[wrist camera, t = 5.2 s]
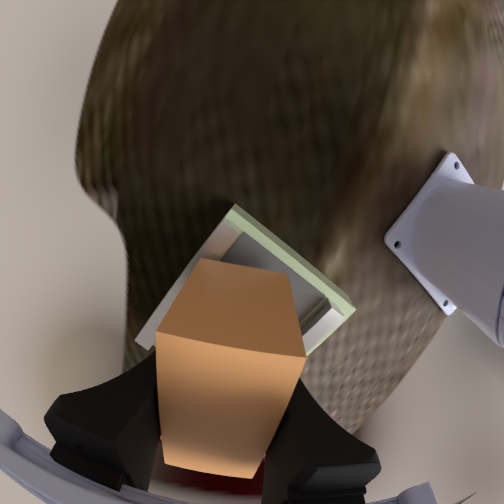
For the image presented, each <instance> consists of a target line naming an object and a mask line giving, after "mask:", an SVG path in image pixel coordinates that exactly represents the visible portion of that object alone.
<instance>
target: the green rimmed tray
mask: <svg viewBox="0 0 504 504" xmlns="http://www.w3.org/2000/svg"><path fill="white" fill-rule="evenodd" d="M200 258H204V259H209V260H215V261H220V262H225V263H231V264H236V265H242V266H247V267H253V268H258V269H264V270H269V271H275V272H281V273H286V274H288V278H289V282H290V287H291V291H292V295H293V299H294V303H295V308H296V312H297V316H298V321H299V325H300V330H301V334H302V338H303V343H304V348H305V352H306V356H307V355H309V354H310V353H311V352H312V351H313V350H314V349H315V348H316V347H318V346H319V345H320V344H321V343H322V342H323V341H324V340H325V339H326V338H327V337H329V336H330V335H331V334H332V333H333V332H334V331H335V330H336V329H337V328H338V327H339V326H340V325H341V324H342V323H343V322H344V321H345V320H346V319H347V318H348V317H349V316H350V315H351V314H352V313H353V312H354V311H355V310H356V308H355V307H354V305H353V303H352V302H351V300H350V298H349V297H348V295H347V294H346V293H345V292H344V291H342V290H341V289H340V288H339V287H338V286H336V285H335V284H334V283H333V282H332V281H330V280H329V279H328V278H327V277H326V276H325V275H323V274H322V273H321V272H320V271H318V270H317V269H316V268H315V267H314V266H312V265H311V264H310V263H309V262H308V261H306V260H305V259H304V258H303V257H302V256H300V255H299V254H298V253H297V252H295V251H294V250H293V249H292V248H290V247H289V246H288V245H287V244H286V243H284V242H283V241H282V240H281V239H279V238H278V237H277V236H276V235H274V234H273V233H272V232H271V231H269V230H268V229H267V228H266V227H264V226H263V225H262V224H261V223H259V222H258V221H257V220H256V219H254V218H253V217H252V216H251V215H249V214H248V213H247V212H245V211H244V210H243V209H242V208H240V207H239V206H238V205H237V204H234V205H233V207H232V208H231V209H230V211H229V212H228V213H227V214H226V216H225V217H224V218H223V219H222V221H221V222H220V223H219V225H218V226H217V227H216V228H215V230H214V231H213V232H212V234H211V235H210V236H209V238H208V239H207V240H206V241H205V243H204V244H203V245H202V247H201V248H200V249H199V251H198V252H197V253H196V255H195V256H194V257H193V259H192V260H191V261H190V263H189V264H188V265H187V267H186V268H185V269H184V271H183V272H182V273H181V275H180V276H179V277H178V279H177V280H176V282H175V283H174V284H173V286H172V287H171V288H170V290H169V291H168V293H167V294H166V295H165V297H164V298H163V300H162V301H161V302H160V304H159V305H158V307H157V308H156V309H155V311H154V312H153V314H152V315H151V317H150V318H149V319H148V321H147V322H146V324H145V325H144V327H143V328H142V330H141V331H140V333H139V334H138V336H137V338H136V339H135V341H136V342H137V343H138V344H140V345H141V346H143V347H144V348H145V349H147V350H149V349H150V347H151V346H152V345H154V346H155V347H156V330H157V328H158V327H159V325H160V323H161V322H162V320H163V318H164V316H165V315H166V313H167V311H168V310H169V308H170V307H171V305H172V303H173V302H174V300H175V298H176V297H177V295H178V293H179V292H180V290H181V289H182V287H183V285H184V284H185V282H186V280H187V279H188V277H189V276H190V274H191V272H192V271H193V269H194V268H195V266H196V265H197V263H198V261H199V260H200Z"/></svg>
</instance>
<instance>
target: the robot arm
mask: <svg viewBox="0 0 504 504" xmlns="http://www.w3.org/2000/svg"><path fill="white" fill-rule="evenodd" d="M454 163H455V164H456V168H455V167H454ZM397 241H398V242H399V244H398V246H397V247H394V244H395V242H397ZM384 242H385V244H386V245H387V246H388V247H389V248H390V250H391V251H392V252H393V253H394V254H395V255H396V256H397V257H398V258H399V259H400V260H401V262H402V263H403V264H404V265H405V266H406V267H407V268H408V269H409V271H410V272H411V273H412V274H413V275H414V276H415V277H416V279H417V280H418V281H419V282H420V283H421V284H422V286H423V287H424V288H425V289H426V290H427V292H428V293H429V294H430V295H431V297H432V298H433V299H434V300H435V302H436V303H437V304H438V305H439V307H440V308H441V309H442V310H443V312H444V313H445V314H446V315H450V314H451V313H453V311H454V310H455V309H456V308H457V307H458V308H459V309H460V310H461V311H462V312H463V313H464V314H465V315H467V317H469V318H470V319H471V320H472V321H473V322H474V323H475V324H476V325H477V326H478V327H479V328H480V329H481V330H482V331H483V332H484V333H485V334H486V335H487V336H489V337H490V338H491V339H492V340H493V341H494V342H495V343H496V344H497V345H499V346H500V347H503V348H504V190H500V189H495V188H491V187H486V186H481V185H476V184H474V182H473V181H472V179H471V178H470V176H469V174H468V173H467V171H466V170H465V168H464V167H463V165H462V163H461V162H460V160H459V159H458V158H457V156H456V155H455V154H454V153H452V152H449V153H447V154H446V155H445V156H444V158H443V159H442V161H441V162H440V164H439V165H438V166H437V168H436V169H435V171H434V172H433V173H432V175H431V176H430V178H429V179H428V180H427V182H426V183H425V184H424V186H423V187H422V188H421V190H420V191H419V192H418V194H417V195H416V196H415V198H414V199H413V200H412V202H411V203H410V204H409V206H408V207H407V208H406V209H405V211H404V212H403V213H402V214H401V216H400V217H399V218H398V219H397V221H396V222H395V223H394V224H393V226H392V227H391V228H390V229H389V230H388V232H387V233H386V234H385V236H384ZM444 301H445V303H444ZM443 303H444V304H443ZM44 421H45V424H46V426H47V428H48V429H49V431H50V433H51V434H52V436H53V437H54V439H55V441H56V443H55V445H54V447H53V449H52V450H50V449H49V448H47V447H45V446H44V445H42V444H40V443H39V442H37V441H36V440H34V439H33V438H31V437H30V436H28V435H27V434H25V433H24V432H23V431H22V429H21V427H20V426H19V425H18V423H17V422H16V421H15V420H14V419H12V418H11V417H10V416H8V415H7V414H5V413H4V412H3V411H2V410H1V409H0V469H1V470H2V471H3V472H4V473H6V474H7V475H8V476H9V477H11V478H12V479H13V480H14V481H16V482H17V483H18V484H19V485H21V486H22V487H24V488H25V489H26V490H28V491H29V492H31V493H32V494H33V495H35V496H36V497H38V498H39V499H41V500H42V501H44V502H46V503H47V504H194V503H189V502H184V501H179V500H175V499H171V498H167V497H163V496H159V495H156V494H152V493H149V492H148V487H149V482H150V477H151V472H152V468H153V463H154V459H155V455H156V451H157V447H158V443H159V439H160V436H161V427H160V416H159V404H158V389H157V367H156V350H155V351H154V352H153V353H152V354H150V355H149V356H148V357H147V358H145V359H144V360H143V361H141V362H140V363H139V364H137V365H136V366H134V367H133V368H131V369H130V370H128V371H126V372H125V373H123V374H121V375H119V376H118V377H116V378H114V379H111V380H109V381H107V382H105V383H103V384H100V385H98V386H95V387H92V388H89V389H85V390H82V391H78V392H73V393H68V394H63V395H60V396H59V397H58V398H57V399H56V400H55V401H54V403H53V404H52V406H51V407H50V409H49V410H48V411H47V413H46V414H45V416H44ZM380 471H381V465H380V461H379V458H378V455H377V453H376V450H375V449H374V448H372V447H370V446H368V445H367V444H365V443H363V442H361V441H360V440H358V439H357V438H355V437H354V436H352V435H351V434H350V433H348V432H347V431H346V430H344V429H343V428H342V427H341V426H340V425H338V424H337V423H336V422H335V421H334V420H333V419H332V418H331V417H330V416H329V415H328V414H327V413H326V412H325V411H324V410H323V409H322V408H321V407H320V406H319V405H318V403H317V402H316V401H315V400H314V398H313V397H312V395H311V394H310V393H309V391H308V390H307V388H306V387H305V385H304V384H303V382H302V381H301V379H300V377H299V379H298V381H297V384H296V386H295V389H294V391H293V394H292V396H291V398H290V401H289V403H288V405H287V408H286V410H285V412H284V414H283V417H282V419H281V421H280V423H279V425H278V428H277V430H276V432H275V434H274V436H273V438H272V440H271V442H270V444H269V447H268V449H267V451H266V457H265V472H264V484H263V494H262V502H261V504H365V500H364V495H363V494H366V487H365V485H367V484H368V483H369V482H370V481H371V480H372V479H374V478H375V477H376V476H377V475H378V474H379V473H380ZM367 504H437V503H436V500H435V497H434V494H433V491H432V489H431V486H430V483H429V482H427V483H424V484H421V485H418V486H414V487H411V488H409V489H407V490H405V491H403V492H402V493H400V494H399V495H398V496H397V497H393V498H389V499H385V500H381V501H376V502H372V503H367Z"/></svg>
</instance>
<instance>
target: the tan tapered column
mask: <svg viewBox="0 0 504 504" xmlns="http://www.w3.org/2000/svg"><path fill="white" fill-rule="evenodd" d="M306 358H307V357H306V352H305V348H304V343H303V338H302V334H301V330H300V325H299V321H298V316H297V312H296V308H295V303H294V299H293V295H292V291H291V287H290V282H289V278H288V274H286V273H281V272H275V271H269V270H264V269H258V268H253V267H247V266H242V265H236V264H231V263H225V262H220V261H215V260H209V259H204V258H200V260H199V261H198V263H197V265H196V266H195V268H194V269H193V271H192V272H191V274H190V276H189V277H188V279H187V280H186V282H185V284H184V285H183V287H182V289H181V290H180V292H179V293H178V295H177V297H176V298H175V300H174V302H173V303H172V305H171V307H170V308H169V310H168V311H167V313H166V315H165V316H164V318H163V320H162V322H161V323H160V325H159V327H158V328H157V330H156V367H157V389H158V404H159V416H160V427H161V436H162V445H163V452H164V460H165V464H169V465H173V466H177V467H181V468H186V469H191V470H195V471H201V472H206V473H212V474H218V475H225V476H233V477H241V478H253V476H254V474H255V472H256V470H257V468H258V466H259V464H260V463H261V461H262V459H263V457H264V455H265V453H266V451H267V449H268V447H269V444H270V442H271V440H272V438H273V436H274V434H275V432H276V430H277V428H278V425H279V423H280V421H281V419H282V417H283V414H284V412H285V410H286V408H287V405H288V403H289V401H290V398H291V396H292V394H293V391H294V389H295V386H296V384H297V381H298V379H299V376H300V374H301V371H302V369H303V366H304V364H305V361H306Z"/></svg>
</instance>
